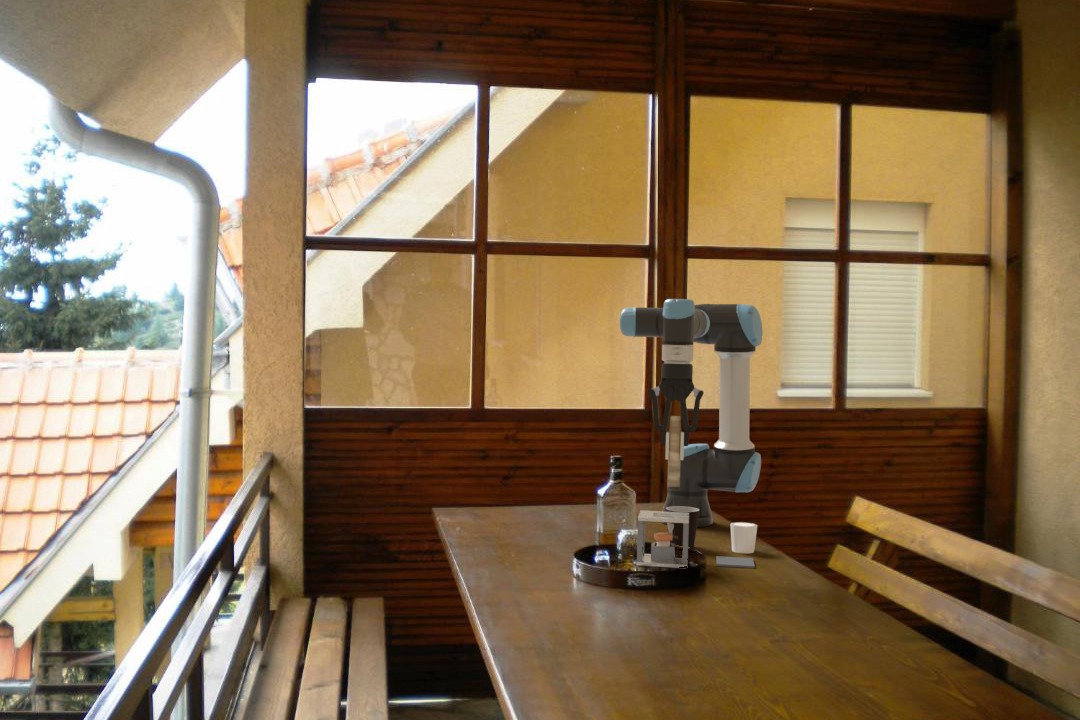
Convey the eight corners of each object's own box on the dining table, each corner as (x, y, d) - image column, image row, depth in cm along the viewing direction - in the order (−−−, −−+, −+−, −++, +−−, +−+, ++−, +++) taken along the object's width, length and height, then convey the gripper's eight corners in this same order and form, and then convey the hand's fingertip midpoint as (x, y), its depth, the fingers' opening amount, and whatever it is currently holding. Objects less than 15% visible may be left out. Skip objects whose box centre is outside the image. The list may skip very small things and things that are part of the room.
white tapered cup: (749, 555, 263) (750, 527, 263) (724, 551, 267) (725, 524, 267) (761, 551, 269) (761, 524, 268) (736, 547, 273) (737, 520, 273)
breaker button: (654, 555, 255) (654, 532, 255) (672, 556, 254) (672, 533, 254) (653, 558, 250) (653, 535, 250) (671, 560, 250) (672, 536, 250)
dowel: (667, 488, 254) (669, 415, 253) (679, 489, 253) (682, 416, 253) (666, 490, 251) (669, 416, 250) (679, 491, 250) (681, 417, 250)
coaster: (716, 558, 259) (716, 556, 259) (752, 560, 257) (752, 558, 257) (716, 566, 250) (716, 564, 250) (754, 568, 248) (754, 566, 248)
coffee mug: (700, 551, 266) (701, 512, 266) (666, 550, 267) (667, 511, 266) (694, 541, 278) (695, 504, 278) (662, 540, 278) (663, 503, 278)
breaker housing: (639, 556, 258) (640, 510, 258) (687, 559, 256) (689, 512, 256) (636, 565, 248) (638, 517, 248) (687, 568, 246) (688, 520, 246)
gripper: (643, 362, 249) (640, 459, 249) (710, 364, 246) (707, 462, 247) (645, 361, 256) (642, 455, 257) (710, 363, 253) (707, 458, 254)
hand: (674, 458), depth 252 cm, fingers closed on dowel, 3 cm apart
